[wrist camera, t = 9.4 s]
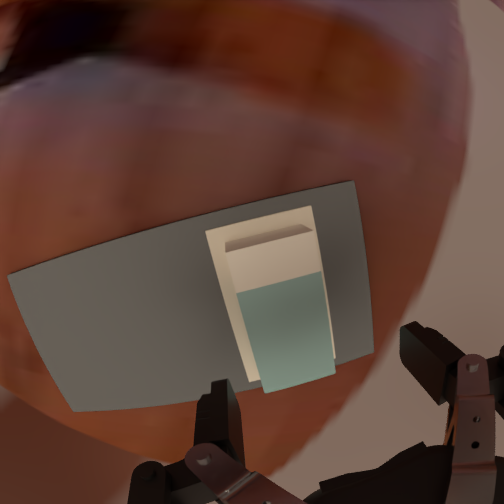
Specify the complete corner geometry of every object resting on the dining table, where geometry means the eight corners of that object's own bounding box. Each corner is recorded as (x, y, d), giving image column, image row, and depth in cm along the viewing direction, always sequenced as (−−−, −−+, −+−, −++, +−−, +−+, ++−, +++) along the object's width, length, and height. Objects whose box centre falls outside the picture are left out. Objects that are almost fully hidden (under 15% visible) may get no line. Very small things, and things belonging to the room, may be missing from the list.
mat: (10, 273, 19) (4, 276, 18) (350, 180, 20) (355, 180, 19) (75, 408, 22) (72, 413, 21) (370, 348, 23) (375, 353, 22)
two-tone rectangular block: (259, 369, 22) (264, 393, 19) (224, 242, 19) (225, 252, 16) (322, 351, 22) (335, 373, 19) (300, 223, 19) (313, 230, 16)
